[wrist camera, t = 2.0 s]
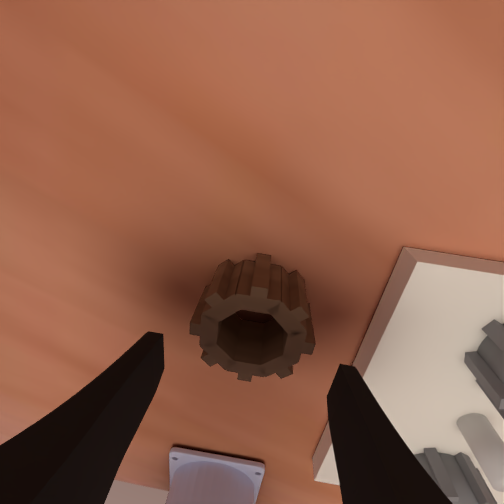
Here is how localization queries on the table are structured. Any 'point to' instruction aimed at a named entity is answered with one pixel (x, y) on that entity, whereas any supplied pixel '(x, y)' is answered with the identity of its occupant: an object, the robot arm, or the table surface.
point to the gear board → (439, 371)
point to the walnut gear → (253, 333)
